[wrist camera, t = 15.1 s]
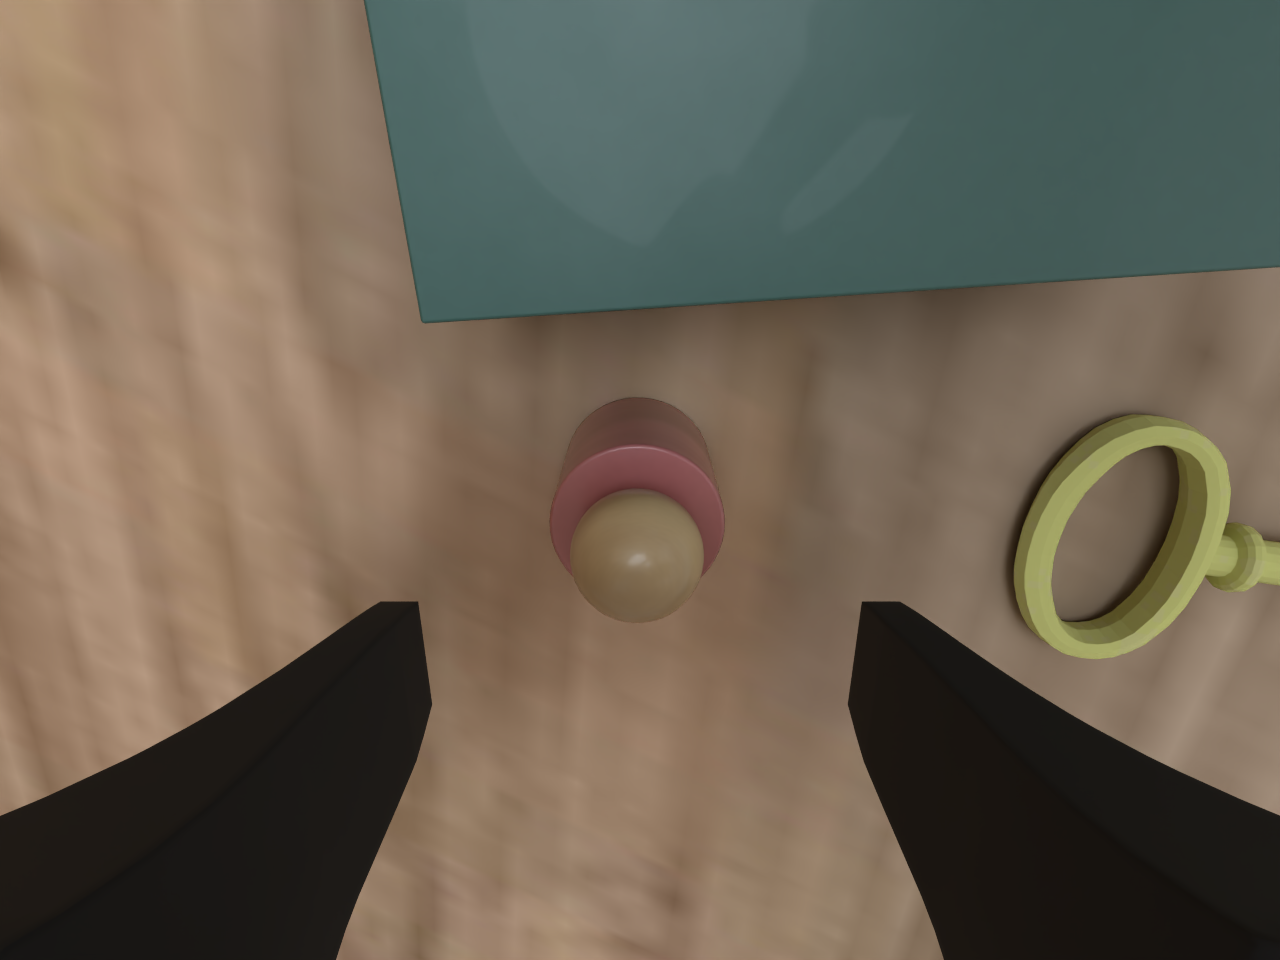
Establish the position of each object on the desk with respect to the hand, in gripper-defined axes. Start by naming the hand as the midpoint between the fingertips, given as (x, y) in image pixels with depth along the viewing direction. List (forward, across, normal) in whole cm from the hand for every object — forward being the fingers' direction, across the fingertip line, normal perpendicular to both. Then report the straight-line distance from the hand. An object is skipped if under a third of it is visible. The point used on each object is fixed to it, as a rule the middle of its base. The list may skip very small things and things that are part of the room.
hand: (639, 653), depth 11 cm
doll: (+9, 0, 0) cm, 9 cm away
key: (+9, +17, -2) cm, 19 cm away
